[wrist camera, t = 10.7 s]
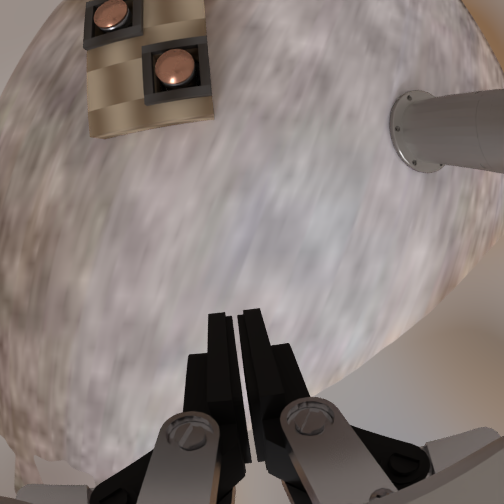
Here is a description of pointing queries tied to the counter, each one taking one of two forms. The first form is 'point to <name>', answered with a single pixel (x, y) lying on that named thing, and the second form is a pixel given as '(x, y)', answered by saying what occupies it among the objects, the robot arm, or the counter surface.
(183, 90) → the maple block
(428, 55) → the counter surface
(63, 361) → the counter surface
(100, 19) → the peg
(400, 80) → the counter surface
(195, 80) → the peg
